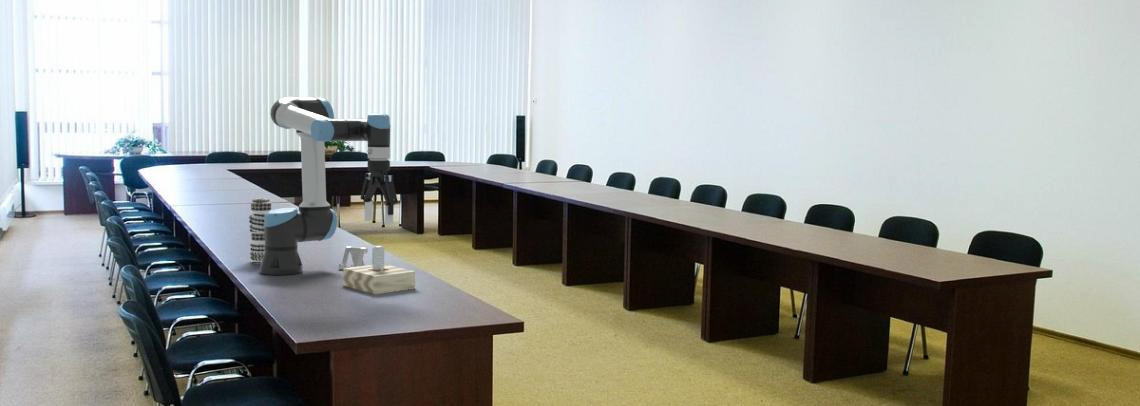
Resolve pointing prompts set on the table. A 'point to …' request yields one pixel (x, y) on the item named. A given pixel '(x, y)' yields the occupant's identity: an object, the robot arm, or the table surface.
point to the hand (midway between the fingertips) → (378, 222)
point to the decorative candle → (258, 227)
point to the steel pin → (378, 258)
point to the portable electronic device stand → (353, 257)
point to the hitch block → (378, 279)
